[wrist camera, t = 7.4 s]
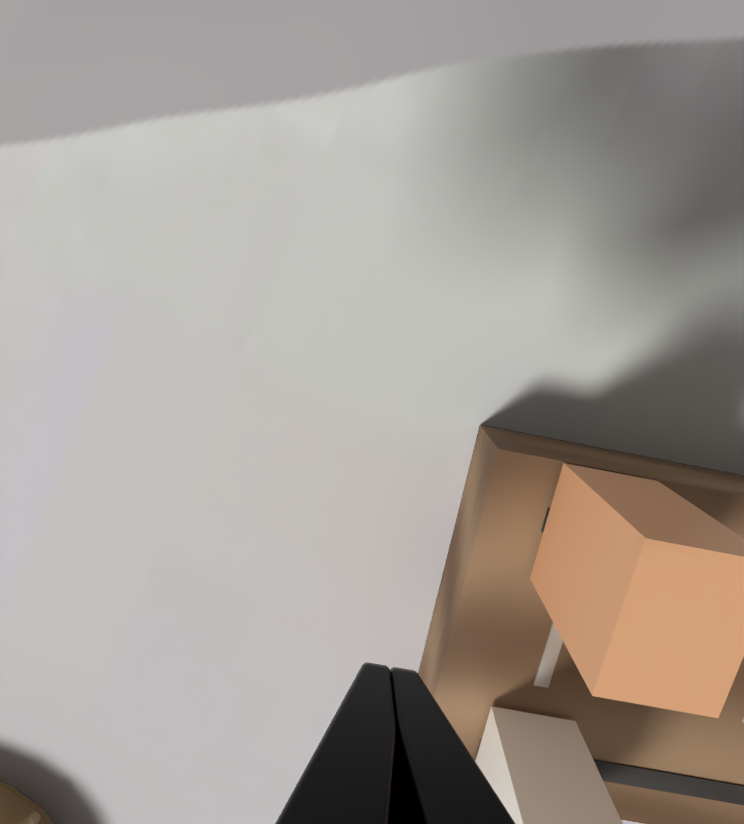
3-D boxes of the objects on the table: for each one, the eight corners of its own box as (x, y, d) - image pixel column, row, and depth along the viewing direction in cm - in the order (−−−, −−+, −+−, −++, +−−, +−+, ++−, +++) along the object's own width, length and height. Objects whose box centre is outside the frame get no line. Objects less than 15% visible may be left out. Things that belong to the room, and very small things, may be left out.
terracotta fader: (619, 595, 17) (718, 717, 12) (530, 578, 17) (592, 696, 12) (658, 481, 16) (781, 563, 11) (563, 463, 16) (646, 538, 11)
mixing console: (903, 804, 22) (983, 882, 19) (407, 717, 22) (411, 785, 19) (1046, 533, 19) (1167, 577, 16) (480, 425, 19) (498, 449, 16)
